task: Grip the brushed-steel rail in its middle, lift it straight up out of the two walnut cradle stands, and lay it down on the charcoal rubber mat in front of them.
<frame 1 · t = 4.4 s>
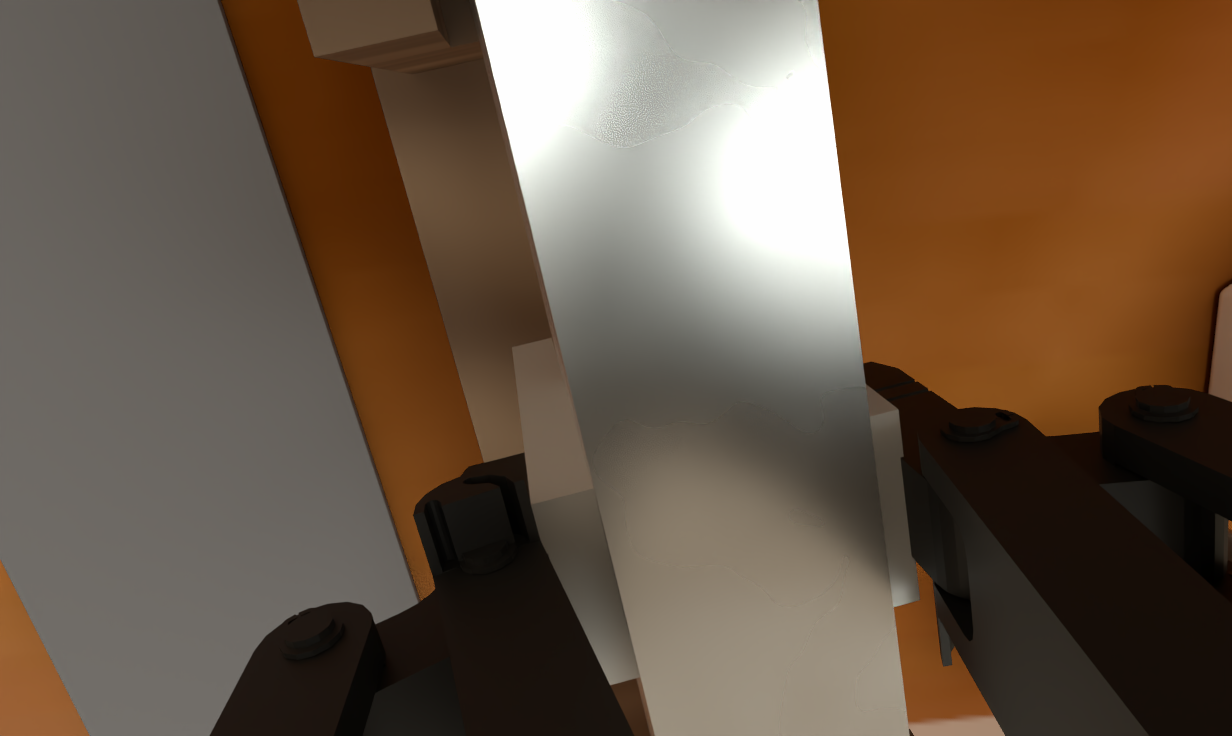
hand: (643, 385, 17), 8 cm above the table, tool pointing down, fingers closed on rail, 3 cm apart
rail: (669, 433, 15), point 10 cm above the table, touching gripper, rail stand
mat: (150, 405, 23), on the table
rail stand: (595, 297, 24), on the table
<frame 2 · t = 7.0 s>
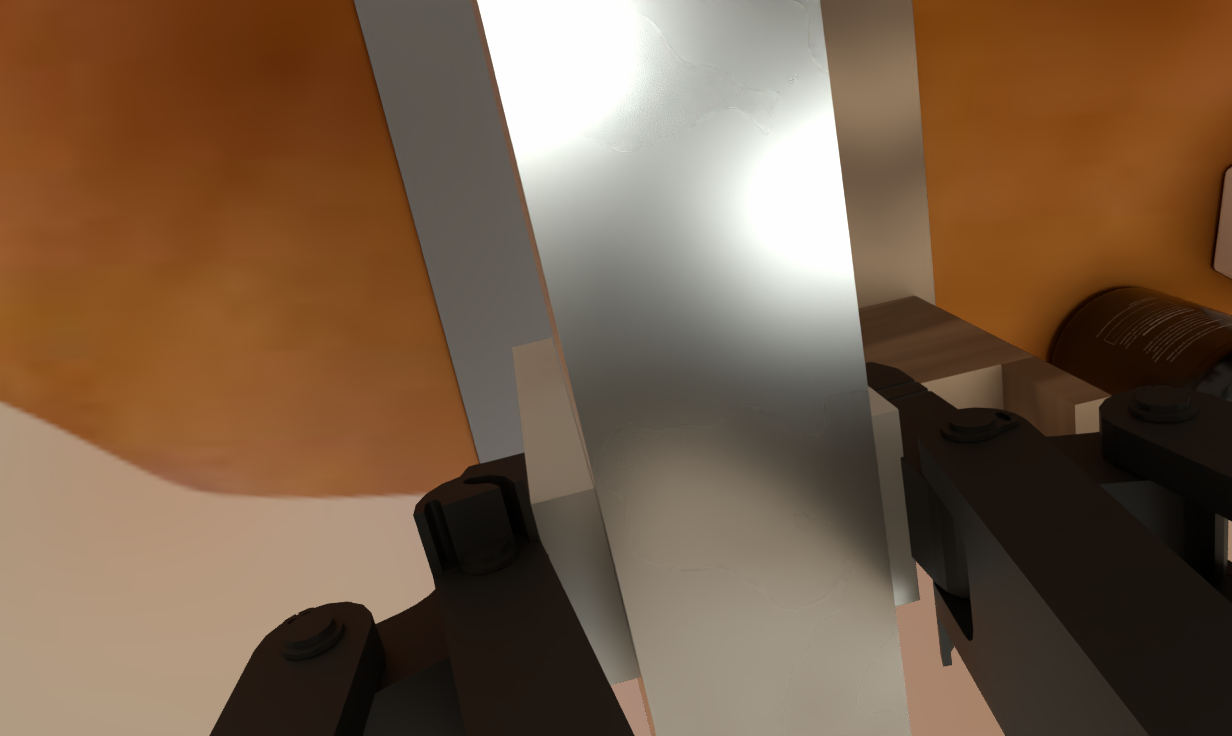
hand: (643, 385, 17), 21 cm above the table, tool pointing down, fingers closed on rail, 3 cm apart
rail: (671, 435, 15), point 23 cm above the table, touching gripper
mat: (541, 220, 36), on the table
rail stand: (821, 158, 37), on the table
supplement bottle: (1109, 353, 42), on the table
when the fingers open (1 cm above the table, at t = 9.6 s): rail drops 3 cm, resting on mat.
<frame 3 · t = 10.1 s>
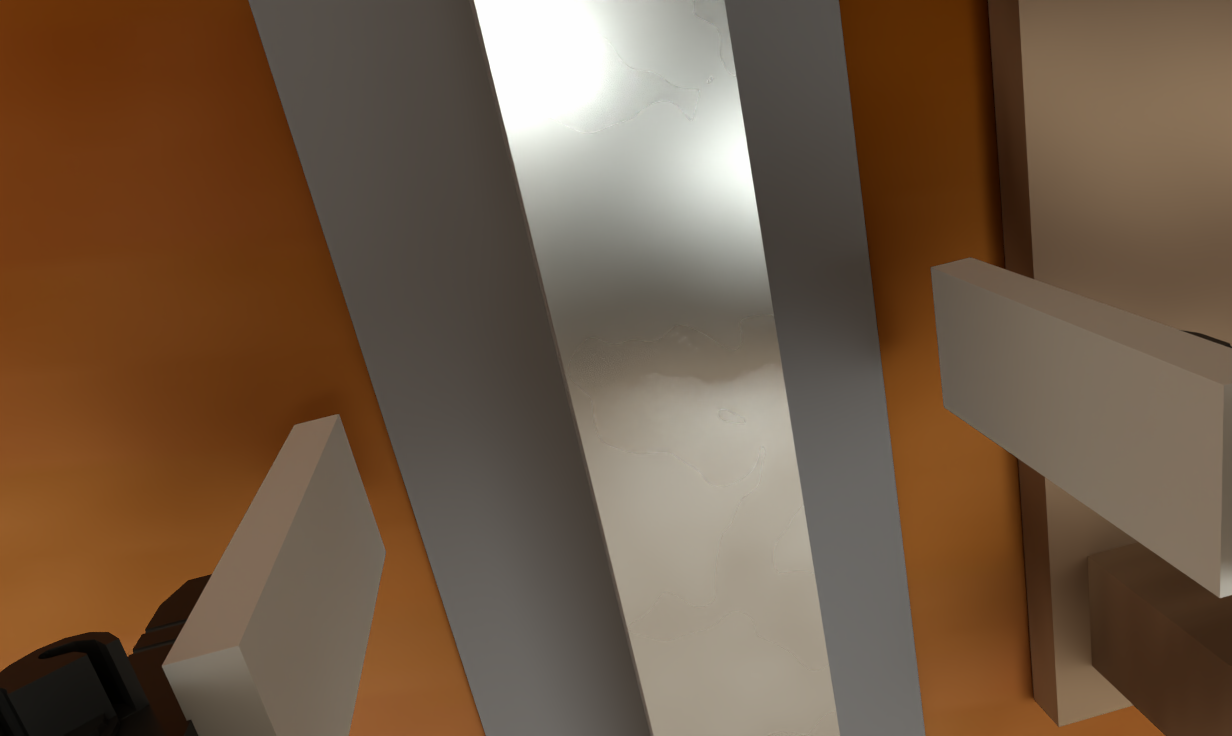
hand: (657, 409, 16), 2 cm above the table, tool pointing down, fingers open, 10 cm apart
rail: (639, 374, 18), resting on mat
mat: (634, 369, 18), on the table
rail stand: (1183, 232, 19), on the table
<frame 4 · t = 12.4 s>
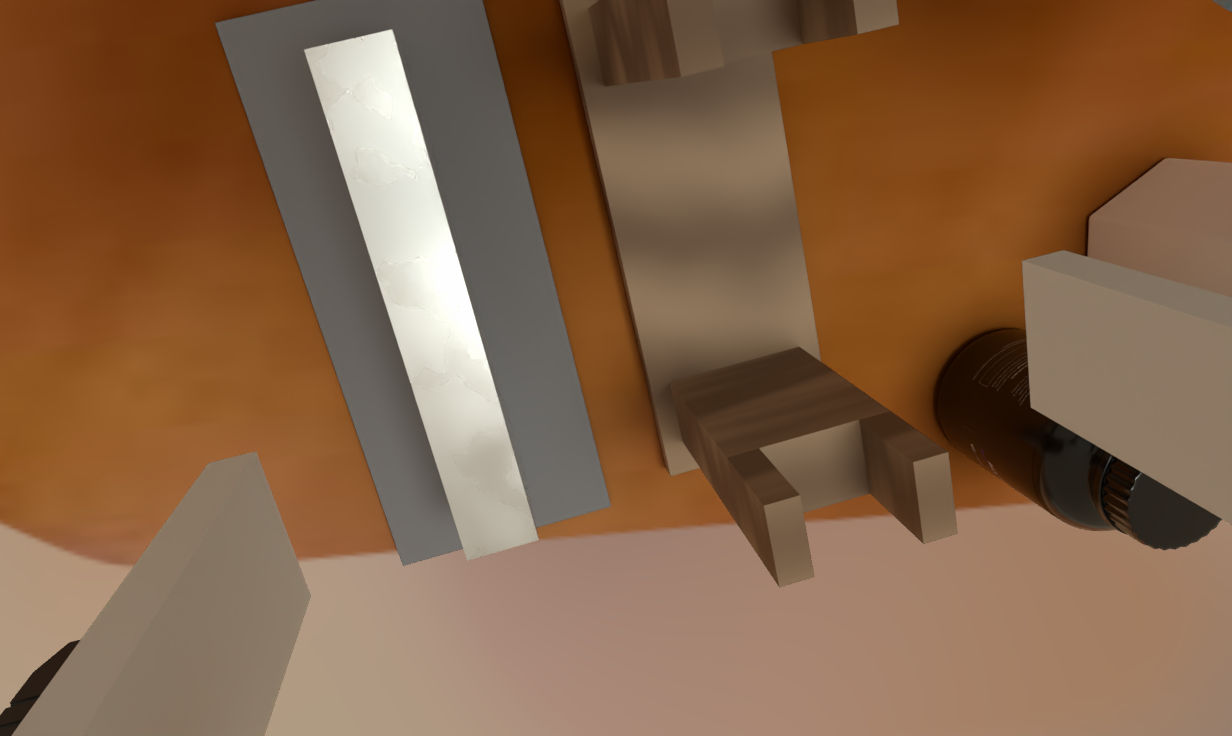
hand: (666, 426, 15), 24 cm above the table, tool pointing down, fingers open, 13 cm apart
jar: (1154, 250, 43), on the table
rail: (436, 292, 38), resting on mat
mat: (435, 290, 38), on the table
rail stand: (702, 221, 39), on the table
supplement bottle: (994, 391, 44), on the table
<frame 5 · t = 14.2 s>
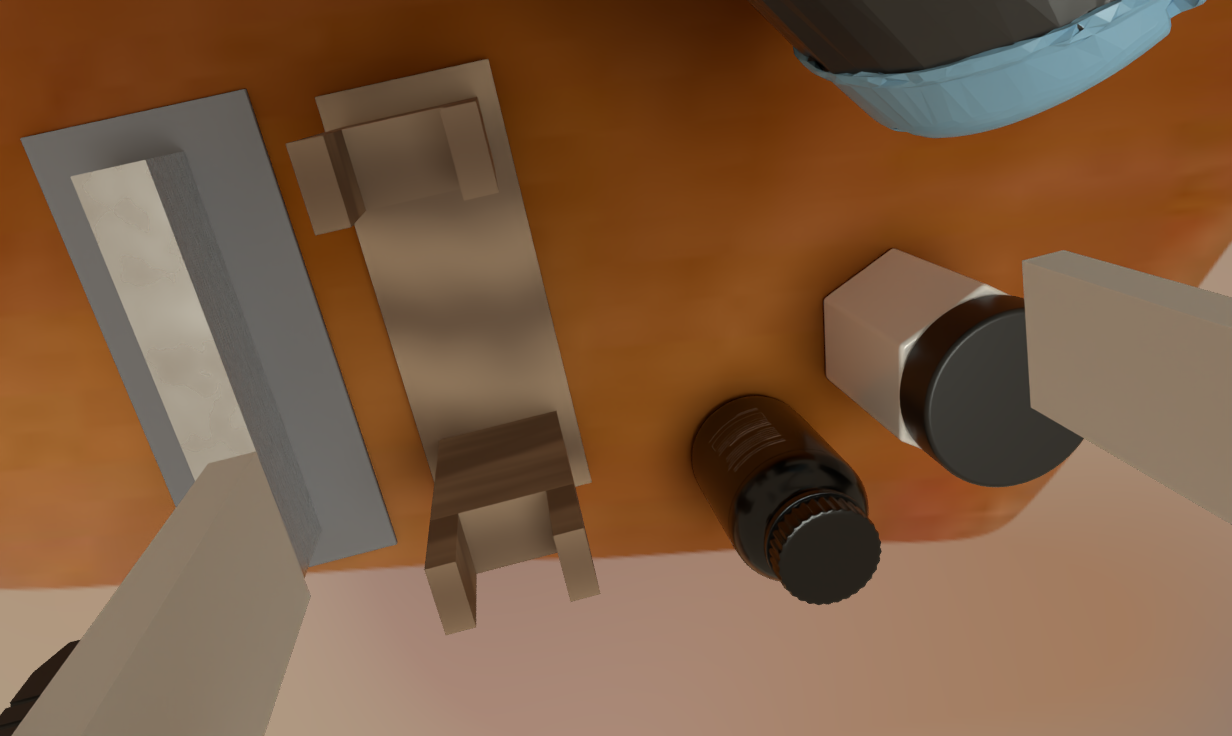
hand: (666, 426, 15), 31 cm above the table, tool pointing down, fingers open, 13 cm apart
jar: (890, 327, 49), on the table
rail: (227, 361, 44), resting on mat
mat: (228, 359, 44), on the table
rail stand: (465, 302, 45), on the table
supplement bottle: (748, 448, 50), on the table
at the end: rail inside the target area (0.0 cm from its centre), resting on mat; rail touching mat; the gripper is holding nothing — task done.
